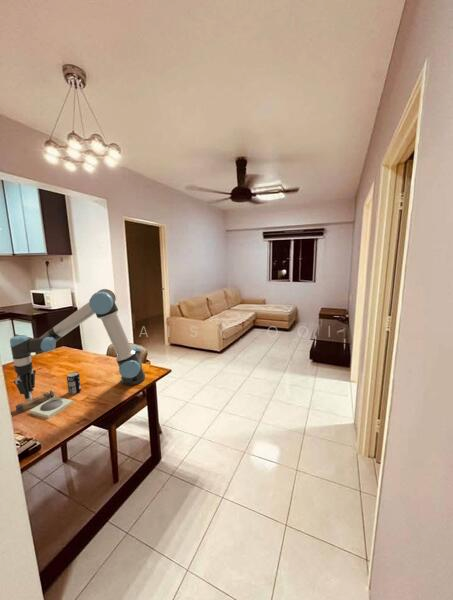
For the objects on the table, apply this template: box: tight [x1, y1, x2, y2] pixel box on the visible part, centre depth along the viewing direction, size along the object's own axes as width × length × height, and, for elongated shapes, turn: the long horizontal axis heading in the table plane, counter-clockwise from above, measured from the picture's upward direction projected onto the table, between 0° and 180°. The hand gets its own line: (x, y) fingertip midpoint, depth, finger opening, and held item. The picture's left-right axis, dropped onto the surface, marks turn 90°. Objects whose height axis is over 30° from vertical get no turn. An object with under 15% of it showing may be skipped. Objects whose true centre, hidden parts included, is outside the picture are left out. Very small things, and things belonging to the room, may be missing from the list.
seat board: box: [29, 395, 74, 419], centre depth 137 cm, size 14×14×2 cm
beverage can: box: [66, 371, 82, 396], centre depth 151 cm, size 7×7×12 cm
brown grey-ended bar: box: [15, 391, 51, 414], centre depth 138 cm, size 15×3×4 cm, turn 147°
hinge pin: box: [49, 390, 55, 398], centre depth 146 cm, size 3×3×4 cm
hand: (29, 402), depth 139 cm, fingers closed
